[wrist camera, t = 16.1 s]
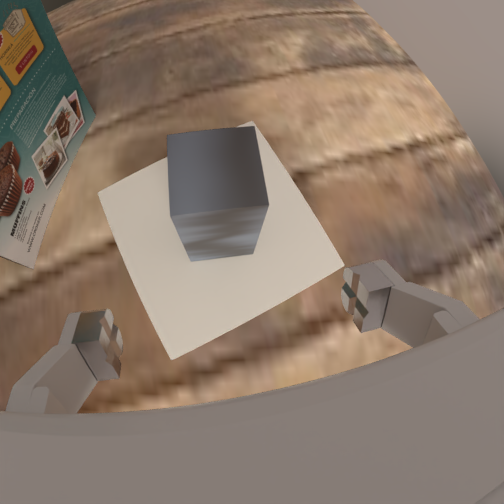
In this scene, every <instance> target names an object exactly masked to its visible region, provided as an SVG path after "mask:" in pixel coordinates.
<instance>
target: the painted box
mask: <svg viewBox="0 0 504 504" xmlns="http://www.w3.org/2000/svg"><path fill="white" fill-rule="evenodd" d="M247 126H255V131H256V136H257V141H258V146H259V151H260V157H261V162H262V167H263V173H264V178H265V184H266V189H267V195H268V200H269V207H268V210H267V213H266V216H265V219H264V222H263V226H262V229H261V232H260V235H259V238H258V241H257V244H256V247H255V250H254V253H253V254H250V255H242V256H234V257H226V258H218V259H210V260H201V261H193V262H191V261H190V259H189V257H188V255H187V253H186V250H185V248H184V246H183V244H182V242H181V239H180V237H179V235H178V233H177V231H176V228H175V226H174V224H173V222H172V219H171V217H170V207H169V187H168V161H167V157H166V158H164V159H162V160H159V161H157V162H155V163H153V164H151V165H149V166H147V167H145V168H143V169H141V170H139V171H137V172H135V173H133V174H131V175H129V176H128V177H126V178H124V179H122V180H120V181H118V182H116V183H114V184H112V185H111V186H109V187H107V188H105V189H103V190H101V191H100V192H98V196H99V198H100V201H101V204H102V207H103V210H104V212H105V215H106V218H107V220H108V223H109V226H110V228H111V231H112V233H113V236H114V238H115V241H116V243H117V246H118V248H119V251H120V253H121V255H122V258H123V260H124V263H125V265H126V267H127V270H128V272H129V274H130V277H131V279H132V281H133V283H134V285H135V288H136V290H137V292H138V294H139V296H140V299H141V301H142V303H143V305H144V307H145V309H146V311H147V313H148V315H149V318H150V320H151V322H152V324H153V326H154V328H155V330H156V332H157V334H158V336H159V338H160V340H161V342H162V343H163V345H164V347H165V349H166V351H167V353H168V355H169V357H170V359H171V360H173V359H175V358H177V357H179V356H181V355H183V354H185V353H187V352H189V351H191V350H193V349H195V348H197V347H199V346H201V345H203V344H205V343H207V342H209V341H211V340H213V339H215V338H217V337H219V336H221V335H222V334H224V333H226V332H228V331H230V330H232V329H234V328H236V327H238V326H239V325H241V324H243V323H245V322H247V321H249V320H251V319H252V318H254V317H256V316H258V315H260V314H262V313H263V312H265V311H267V310H269V309H271V308H272V307H274V306H276V305H278V304H280V303H281V302H283V301H285V300H287V299H288V298H290V297H292V296H294V295H295V294H297V293H299V292H301V291H302V290H304V289H306V288H308V287H309V286H311V285H313V284H314V283H316V282H318V281H320V280H321V279H323V278H325V277H326V276H328V275H330V274H331V273H333V272H335V271H336V270H338V269H340V268H341V267H343V266H345V265H344V263H343V261H342V260H341V258H340V256H339V255H338V253H337V251H336V249H335V248H334V246H333V244H332V243H331V241H330V239H329V238H328V236H327V234H326V233H325V231H324V229H323V228H322V226H321V224H320V223H319V221H318V220H317V218H316V216H315V215H314V213H313V211H312V210H311V208H310V207H309V205H308V203H307V202H306V200H305V199H304V197H303V195H302V194H301V192H300V191H299V189H298V188H297V186H296V185H295V183H294V181H293V180H292V178H291V177H290V175H289V174H288V172H287V171H286V169H285V168H284V166H283V165H282V163H281V162H280V160H279V159H278V157H277V156H276V154H275V153H274V151H273V150H272V148H271V147H270V145H269V144H268V142H267V141H266V139H265V138H264V136H263V135H262V134H261V132H260V131H259V129H258V128H257V126H256V125H255V123H254V122H253V121H250V122H248V123H245V124H242V125H240V126H237V127H247Z"/></svg>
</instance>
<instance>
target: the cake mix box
mask: <svg viewBox="0 0 504 504" xmlns="http://www.w3.org/2000/svg"><path fill="white" fill-rule="evenodd" d="M95 116H96V115H95V113H94V111H93V110H92V108H91V106H90V104H89V102H88V100H87V98H86V96H85V94H84V92H83V90H82V88H81V86H80V84H79V82H78V80H77V78H76V76H75V74H74V72H73V70H72V68H71V66H70V64H69V62H68V60H67V58H66V56H65V54H64V52H63V49H62V47H61V45H60V43H59V41H58V39H57V37H56V34H55V32H54V30H53V28H52V25H51V23H50V21H49V19H48V16H47V14H46V12H45V10H44V7H43V5H42V2H41V0H0V257H2V258H5V259H7V260H10V261H12V262H15V263H18V264H20V265H23V266H26V267H29V268H31V269H34V266H35V263H36V259H37V256H38V253H39V249H40V246H41V243H42V240H43V237H44V234H45V231H46V228H47V225H48V222H49V219H50V216H51V214H52V211H53V208H54V206H55V203H56V200H57V198H58V195H59V193H60V190H61V188H62V185H63V183H64V181H65V178H66V176H67V174H68V171H69V169H70V167H71V165H72V162H73V160H74V158H75V156H76V154H77V152H78V149H79V147H80V145H81V143H82V141H83V139H84V137H85V135H86V133H87V131H88V129H89V127H90V125H91V124H92V122H93V120H94V118H95Z"/></svg>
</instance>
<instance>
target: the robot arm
mask: <svg viewBox="0 0 504 504" xmlns="http://www.w3.org/2000/svg"><path fill="white" fill-rule="evenodd" d="M343 278H344V280H345V281H346V283H345V284H344V286H343V287H342V293H341V297H342V303H343V305H344V308H345V309H346V311H347V313H349V314H352V315H354V316H353V322H354V323H355V325H356V326H357V328H358V329H359V331H360V332H361V333H363V332H366V331H370V330H374V329H378V328H381V327H382V328H381V329H383V330H385V331H386V332H388V333H390V334H391V335H393V336H395V337H396V338H398V339H400V340H401V341H403V342H405V343H406V344H408V345H410V346H411V347H413V348H412V349H410V350H407V351H404V352H402V353H399V354H396V355H394V356H391V357H388V358H385V359H382V360H379V361H376V362H373V363H370V364H367V365H364V366H361V367H358V368H355V369H351V370H348V371H345V372H341V373H338V374H335V375H331V376H328V377H324V378H320V379H317V380H313V381H309V382H305V383H301V384H297V385H293V386H289V387H285V388H280V389H276V390H272V391H267V392H262V393H258V394H253V395H248V396H242V397H237V398H232V399H226V400H220V401H214V402H208V403H201V404H194V405H187V406H179V407H171V408H162V409H152V410H141V411H129V412H113V413H86V414H76V413H77V412H78V410H79V409H80V407H81V406H82V404H83V403H84V401H85V400H86V398H87V397H88V396H89V394H90V393H91V391H92V390H93V388H94V387H95V385H96V384H97V381H101V380H110V379H119V378H120V370H121V362H120V360H119V357H120V356H121V355H122V352H123V343H122V337H121V333H120V331H119V328H118V327H117V326H115V325H114V324H113V320H114V317H113V315H112V313H111V310H109V309H100V310H91V311H83V312H75V313H70V314H69V315H68V316H67V319H66V322H65V325H64V328H63V331H62V334H61V337H60V340H59V343H58V345H55V346H53V347H52V348H51V349H50V350H49V351H48V352H47V353H46V354H45V355H44V356H43V357H42V358H41V359H40V360H39V361H38V362H37V363H36V364H34V365H33V366H32V367H31V368H30V369H29V370H28V371H27V372H26V373H25V374H24V375H23V376H22V377H21V378H20V379H19V380H18V381H17V382H16V383H15V384H14V385H13V388H12V391H11V394H10V397H9V400H8V404H7V407H6V411H0V504H504V308H502V309H500V310H498V311H496V312H494V313H492V314H490V315H488V316H486V317H484V318H482V319H479V318H478V317H477V316H476V315H475V314H474V313H473V312H472V311H471V310H470V309H469V308H468V307H467V306H466V305H465V304H464V303H463V302H462V301H459V300H457V299H454V298H451V297H449V296H446V295H444V294H441V293H438V292H436V291H433V290H430V289H428V288H425V287H422V286H420V285H417V284H414V283H412V282H407V283H406V282H405V280H404V279H403V278H402V277H401V276H400V275H399V274H398V273H397V272H396V271H395V270H394V269H393V268H392V267H391V266H390V265H389V264H388V263H387V262H386V261H385V260H382V259H380V260H376V261H372V262H370V263H365V264H361V265H356V266H351V267H346V268H345V270H344V274H343Z"/></svg>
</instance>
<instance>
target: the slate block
mask: <svg viewBox="0 0 504 504" xmlns="http://www.w3.org/2000/svg"><path fill="white" fill-rule="evenodd" d="M167 161H168V187H169V207H170V217H171V219H172V222H173V224H174V226H175V228H176V231H177V233H178V235H179V237H180V239H181V242H182V244H183V246H184V248H185V250H186V253H187V255H188V257H189V259H190V261H191V262H193V261H201V260H210V259H218V258H226V257H234V256H242V255H250V254H253V253H254V250H255V247H256V244H257V241H258V238H259V235H260V232H261V229H262V226H263V222H264V219H265V216H266V213H267V210H268V207H269V200H268V195H267V189H266V184H265V178H264V173H263V167H262V162H261V157H260V151H259V146H258V141H257V136H256V131H255V126H247V127H234V128H222V129H212V130H203V131H194V132H186V133H178V134H171V135H167Z"/></svg>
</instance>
